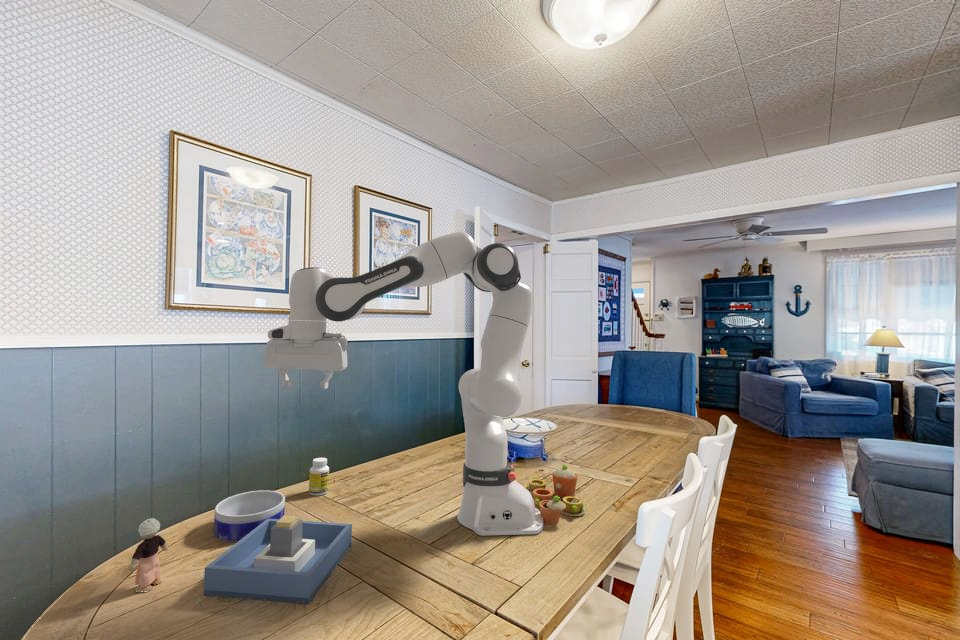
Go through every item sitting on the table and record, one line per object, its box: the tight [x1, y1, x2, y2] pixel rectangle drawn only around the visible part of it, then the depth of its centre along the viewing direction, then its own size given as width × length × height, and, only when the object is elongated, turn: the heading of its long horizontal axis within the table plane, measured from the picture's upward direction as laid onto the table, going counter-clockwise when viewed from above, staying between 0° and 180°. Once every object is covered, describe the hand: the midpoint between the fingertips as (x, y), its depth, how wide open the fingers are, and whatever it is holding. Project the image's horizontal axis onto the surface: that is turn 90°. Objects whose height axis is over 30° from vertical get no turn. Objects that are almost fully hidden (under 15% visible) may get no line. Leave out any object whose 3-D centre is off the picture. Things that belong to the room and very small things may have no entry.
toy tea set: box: [524, 464, 586, 525], centre depth 121 cm, size 26×16×10 cm, turn 2°
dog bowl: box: [213, 489, 286, 542], centre depth 104 cm, size 15×15×6 cm
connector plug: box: [270, 514, 304, 558], centre depth 87 cm, size 4×4×9 cm
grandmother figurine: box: [128, 517, 169, 592], centre depth 80 cm, size 8×4×13 cm, turn 5°
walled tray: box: [203, 519, 353, 605], centre depth 87 cm, size 20×20×5 cm
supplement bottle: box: [308, 457, 330, 497], centre depth 126 cm, size 5×5×10 cm
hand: (305, 387), depth 106 cm, fingers open, 8 cm apart
